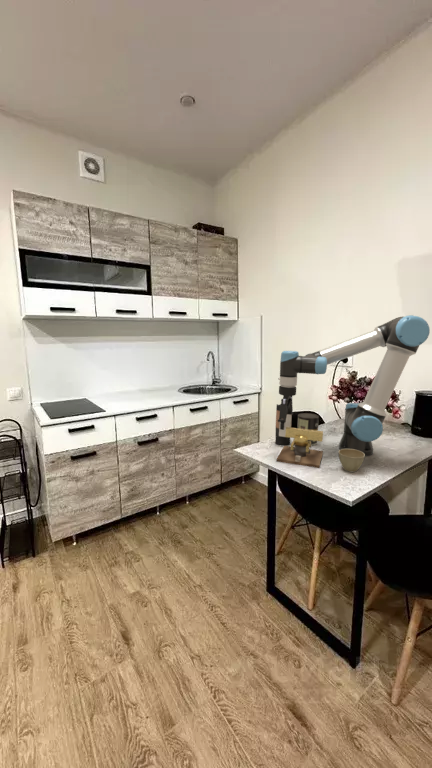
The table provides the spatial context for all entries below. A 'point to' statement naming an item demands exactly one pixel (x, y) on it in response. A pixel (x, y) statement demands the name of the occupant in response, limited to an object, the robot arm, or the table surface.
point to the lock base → (304, 460)
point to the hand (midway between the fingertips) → (285, 432)
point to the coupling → (303, 437)
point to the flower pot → (351, 459)
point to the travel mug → (279, 439)
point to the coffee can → (308, 423)
